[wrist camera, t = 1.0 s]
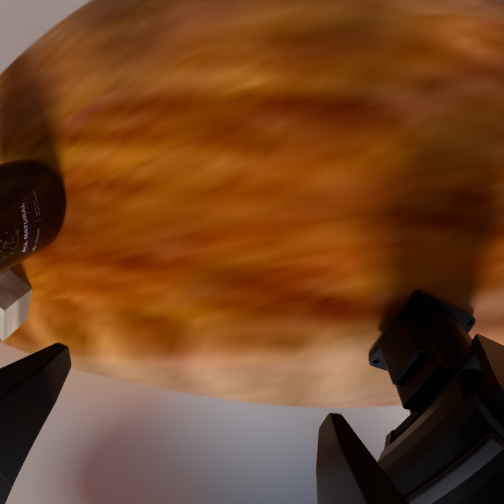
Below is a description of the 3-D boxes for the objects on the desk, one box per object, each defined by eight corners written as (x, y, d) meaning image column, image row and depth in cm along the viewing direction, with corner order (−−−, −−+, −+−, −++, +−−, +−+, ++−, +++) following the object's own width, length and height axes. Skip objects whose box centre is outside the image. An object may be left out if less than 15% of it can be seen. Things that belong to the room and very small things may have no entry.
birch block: (32, 288, 22) (4, 310, 18) (28, 318, 23) (3, 341, 20) (4, 262, 22) (-25, 281, 18) (1, 293, 23) (-25, 313, 19)
